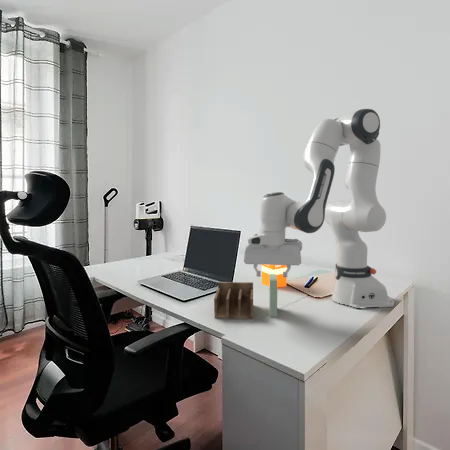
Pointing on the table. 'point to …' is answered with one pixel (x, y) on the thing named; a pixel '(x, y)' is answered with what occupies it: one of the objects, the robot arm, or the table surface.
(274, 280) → the board
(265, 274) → the orange juice
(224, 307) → the file sorter
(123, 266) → the table surface
